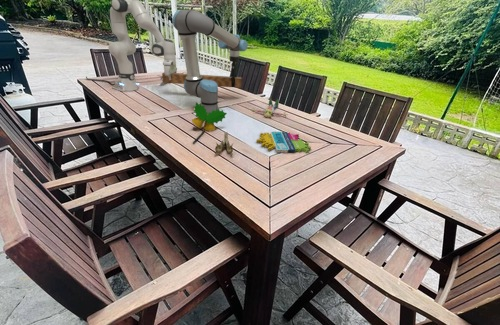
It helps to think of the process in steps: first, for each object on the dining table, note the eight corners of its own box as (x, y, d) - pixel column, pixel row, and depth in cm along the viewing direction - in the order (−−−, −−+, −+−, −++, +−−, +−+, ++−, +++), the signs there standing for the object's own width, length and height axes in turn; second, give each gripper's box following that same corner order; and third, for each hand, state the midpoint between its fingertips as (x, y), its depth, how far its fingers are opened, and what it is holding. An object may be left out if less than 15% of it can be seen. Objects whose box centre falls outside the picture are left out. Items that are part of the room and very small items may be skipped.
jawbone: (234, 135, 144) (233, 125, 135) (233, 160, 138) (232, 151, 129) (217, 135, 144) (216, 125, 135) (216, 160, 138) (214, 150, 129)
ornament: (218, 133, 171) (224, 110, 169) (221, 134, 163) (227, 111, 161) (186, 125, 162) (192, 101, 160) (189, 126, 155) (195, 101, 153)
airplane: (151, 78, 274) (150, 68, 269) (181, 76, 288) (180, 67, 282) (158, 87, 246) (157, 77, 241) (191, 85, 259) (191, 75, 254)
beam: (241, 86, 220) (241, 77, 216) (240, 87, 215) (241, 78, 212) (165, 81, 221) (164, 72, 217) (163, 82, 216) (162, 73, 213)
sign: (313, 150, 142) (258, 149, 139) (312, 153, 143) (258, 152, 140) (301, 132, 164) (254, 130, 161) (301, 134, 165) (254, 133, 162)
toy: (291, 100, 208) (287, 111, 182) (290, 109, 211) (286, 120, 185) (257, 96, 213) (248, 105, 187) (256, 105, 216) (248, 115, 190)
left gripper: (170, 59, 219) (171, 76, 226) (162, 63, 202) (163, 81, 208) (177, 60, 219) (178, 76, 226) (170, 63, 201) (171, 82, 208)
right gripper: (231, 54, 214) (230, 83, 225) (228, 57, 198) (227, 88, 209) (240, 55, 214) (238, 83, 225) (238, 58, 198) (236, 88, 209)
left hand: (171, 79), depth 217 cm, fingers closed on beam, 5 cm apart
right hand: (233, 85), depth 217 cm, fingers closed on beam, 5 cm apart
